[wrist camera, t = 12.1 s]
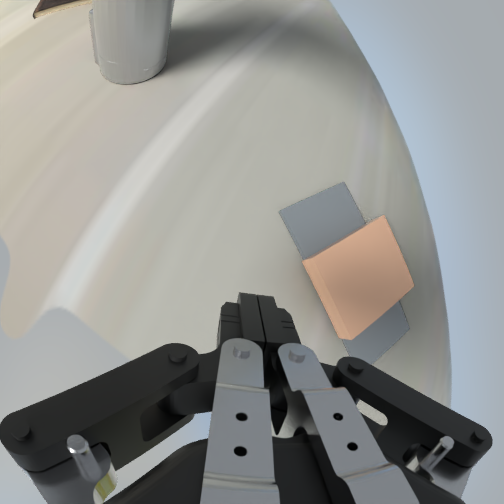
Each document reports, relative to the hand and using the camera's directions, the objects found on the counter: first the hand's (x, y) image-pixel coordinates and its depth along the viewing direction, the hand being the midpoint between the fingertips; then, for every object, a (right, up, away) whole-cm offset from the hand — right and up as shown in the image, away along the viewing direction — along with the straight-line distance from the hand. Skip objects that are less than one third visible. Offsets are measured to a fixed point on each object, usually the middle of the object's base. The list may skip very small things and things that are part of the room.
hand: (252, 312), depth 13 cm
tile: (+8, -3, +18) cm, 20 cm away
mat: (+12, 0, +22) cm, 25 cm away
